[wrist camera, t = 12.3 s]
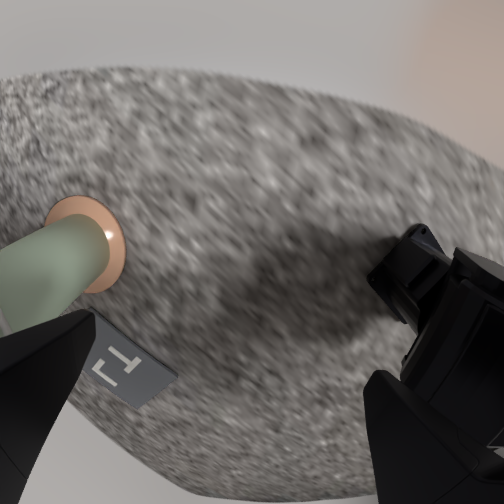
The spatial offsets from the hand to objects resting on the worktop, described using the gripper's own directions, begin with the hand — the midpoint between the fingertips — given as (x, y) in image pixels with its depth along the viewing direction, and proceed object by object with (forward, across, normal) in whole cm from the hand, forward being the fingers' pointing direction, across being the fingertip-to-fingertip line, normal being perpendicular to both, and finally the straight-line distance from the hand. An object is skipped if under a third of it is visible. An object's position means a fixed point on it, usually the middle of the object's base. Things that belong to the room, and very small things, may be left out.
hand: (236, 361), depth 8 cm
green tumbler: (+12, +12, +4) cm, 18 cm away
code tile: (+13, +9, +15) cm, 22 cm away
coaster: (+13, +12, +4) cm, 18 cm away
